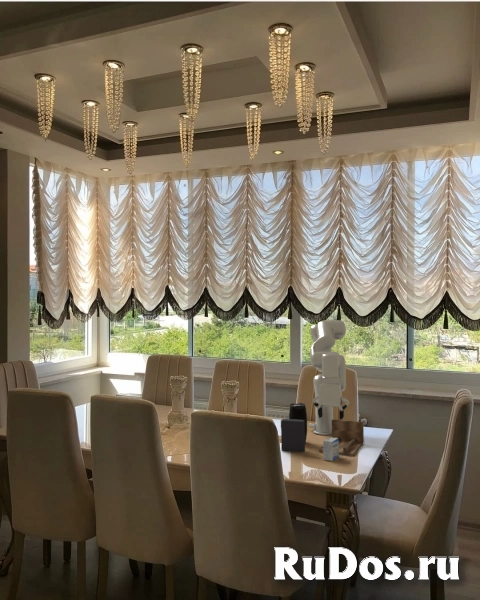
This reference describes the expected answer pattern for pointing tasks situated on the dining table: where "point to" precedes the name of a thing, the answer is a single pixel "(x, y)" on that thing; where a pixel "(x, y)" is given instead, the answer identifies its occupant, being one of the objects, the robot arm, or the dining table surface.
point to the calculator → (293, 435)
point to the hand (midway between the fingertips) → (330, 418)
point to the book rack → (348, 436)
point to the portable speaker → (299, 414)
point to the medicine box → (331, 449)
